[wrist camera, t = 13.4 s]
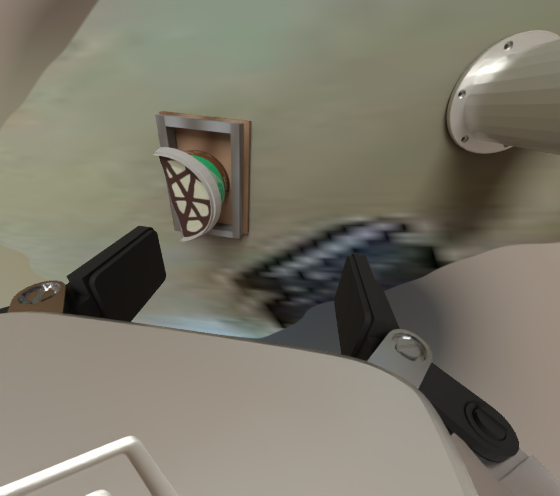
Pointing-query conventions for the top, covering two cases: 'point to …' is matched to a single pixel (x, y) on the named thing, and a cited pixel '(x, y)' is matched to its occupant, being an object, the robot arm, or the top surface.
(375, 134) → the top surface
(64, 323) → the robot arm
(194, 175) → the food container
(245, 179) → the cradle
